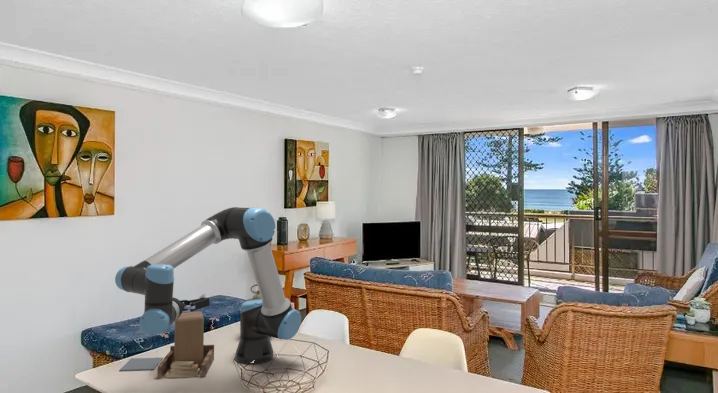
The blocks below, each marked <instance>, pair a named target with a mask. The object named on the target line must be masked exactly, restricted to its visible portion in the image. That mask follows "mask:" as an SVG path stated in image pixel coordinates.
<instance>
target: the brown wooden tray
mask: <svg viewBox="0 0 718 393" xmlns="http://www.w3.org/2000/svg"><path fill="white" fill-rule="evenodd" d="M169 349H170V350H169V352H167V354H166V355H165V357H163V359H162V360H161V362H160V363H159V364H158V365H157V376H156V379H157V380H158V379H159V380H161V379H163V377H164V376H165V378H166V379H173V378H197V377H198V378H199V375H200V374H201V375H200V377H201V378H206V377H207V374H208V372H209V371H210V368H211V366H212V365H213V363H214V361H215V344H203V363H202V364H201V369H200V368H198V364H196V365H193V364H194V362H190V361H174V345H170V348H169Z"/></svg>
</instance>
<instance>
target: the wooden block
mask: <svg viewBox="0 0 718 393" xmlns="http://www.w3.org/2000/svg"><path fill="white" fill-rule="evenodd" d="M204 330H205V318H204V315H203V312H202V311H201V310H200V311H197V310H196V311H193V312H191V311H188V312H187V311H183V312H182V314H181V315H180V317H179V318H178V319H176V320H175V321H174V343H173V344H174V345H173V346H174V361H190V362H194V364H193V365H196V364H198V368H200V370H201V364H202V363H203V345H204V337H205V336H204V334H205V332H204Z"/></svg>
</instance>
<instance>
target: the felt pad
mask: <svg viewBox="0 0 718 393" xmlns="http://www.w3.org/2000/svg"><path fill="white" fill-rule="evenodd" d="M163 359H164V357H138V358H130V359H129V360H128V361H127V362H126V363H125V364H124V365H123V366H122V367H121V368H119V372H133V371H134V372H136V371H137V372H139V371H140V372H141V371H154V370H156V369H157V368H158V365H159V364H160V363H161V361H162V360H163Z"/></svg>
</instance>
